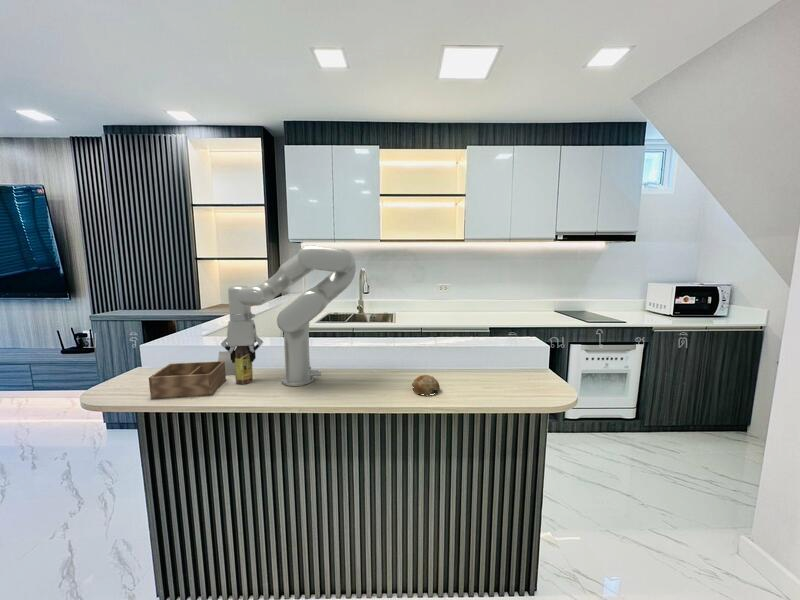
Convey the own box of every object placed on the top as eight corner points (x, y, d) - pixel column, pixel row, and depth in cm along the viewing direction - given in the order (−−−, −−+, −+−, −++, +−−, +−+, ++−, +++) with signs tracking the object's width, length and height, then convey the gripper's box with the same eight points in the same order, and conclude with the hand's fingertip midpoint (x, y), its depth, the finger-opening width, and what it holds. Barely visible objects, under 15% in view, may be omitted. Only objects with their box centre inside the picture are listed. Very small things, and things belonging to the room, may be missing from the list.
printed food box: (235, 375, 141) (233, 352, 139) (218, 375, 140) (217, 352, 139) (238, 372, 145) (237, 350, 143) (222, 372, 144) (221, 350, 143)
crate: (226, 380, 136) (224, 361, 135) (212, 395, 121) (210, 374, 120) (172, 382, 132) (170, 363, 131) (150, 399, 118) (148, 377, 117)
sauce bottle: (246, 385, 130) (243, 336, 127) (232, 384, 132) (228, 335, 129) (256, 379, 137) (253, 332, 134) (243, 378, 138) (240, 331, 135)
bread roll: (423, 407, 122) (431, 391, 118) (404, 388, 127) (411, 372, 124) (439, 398, 129) (447, 383, 125) (421, 381, 134) (428, 366, 131)
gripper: (266, 314, 135) (268, 357, 138) (220, 316, 133) (223, 359, 135) (261, 318, 128) (264, 363, 131) (213, 319, 125) (216, 365, 128)
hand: (243, 361), depth 133 cm, fingers closed on sauce bottle, 6 cm apart
